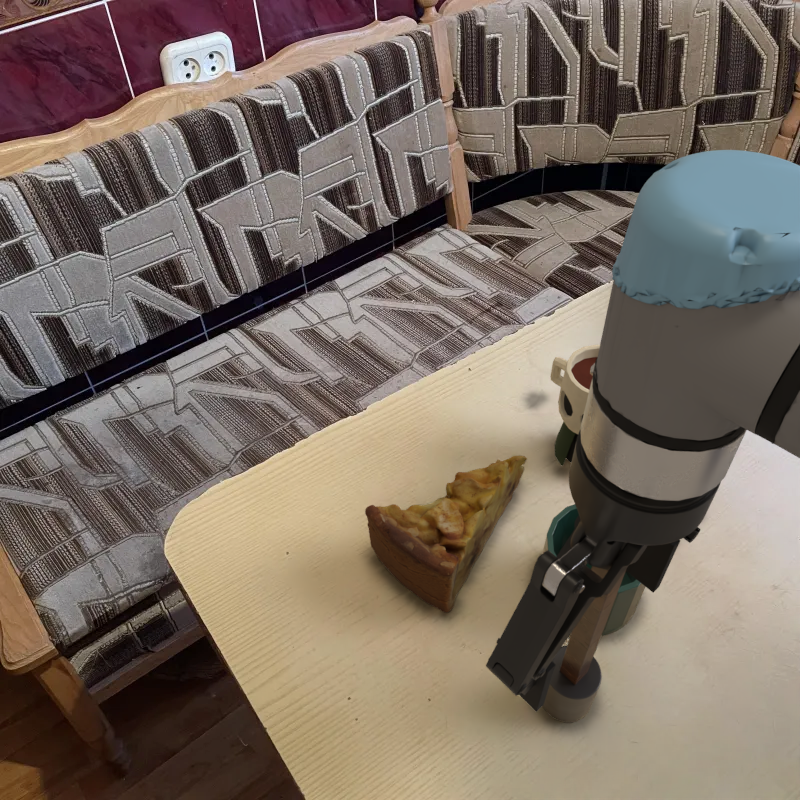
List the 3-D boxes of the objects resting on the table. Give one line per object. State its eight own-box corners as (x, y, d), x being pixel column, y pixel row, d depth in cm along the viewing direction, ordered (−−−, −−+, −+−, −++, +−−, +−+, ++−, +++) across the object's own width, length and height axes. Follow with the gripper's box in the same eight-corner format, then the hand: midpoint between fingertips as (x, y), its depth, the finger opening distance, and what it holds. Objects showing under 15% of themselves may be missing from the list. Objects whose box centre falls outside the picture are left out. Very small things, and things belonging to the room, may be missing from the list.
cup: (656, 593, 70) (677, 547, 64) (594, 657, 66) (610, 613, 60) (579, 532, 74) (592, 484, 69) (517, 588, 71) (525, 541, 65)
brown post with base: (602, 697, 63) (662, 561, 47) (568, 734, 62) (618, 604, 45) (561, 660, 66) (605, 517, 50) (527, 694, 64) (562, 557, 48)
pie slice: (439, 626, 68) (440, 582, 62) (363, 557, 73) (357, 510, 67) (561, 508, 76) (573, 459, 71) (485, 453, 82) (490, 403, 76)
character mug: (521, 447, 82) (534, 361, 72) (561, 411, 85) (578, 324, 76) (607, 504, 76) (632, 420, 67) (645, 464, 80) (675, 377, 70)
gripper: (720, 307, 47) (645, 506, 62) (428, 539, 36) (427, 709, 52) (837, 370, 43) (726, 565, 58) (549, 652, 32) (508, 798, 48)
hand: (586, 633), depth 55 cm, fingers open, 12 cm apart
